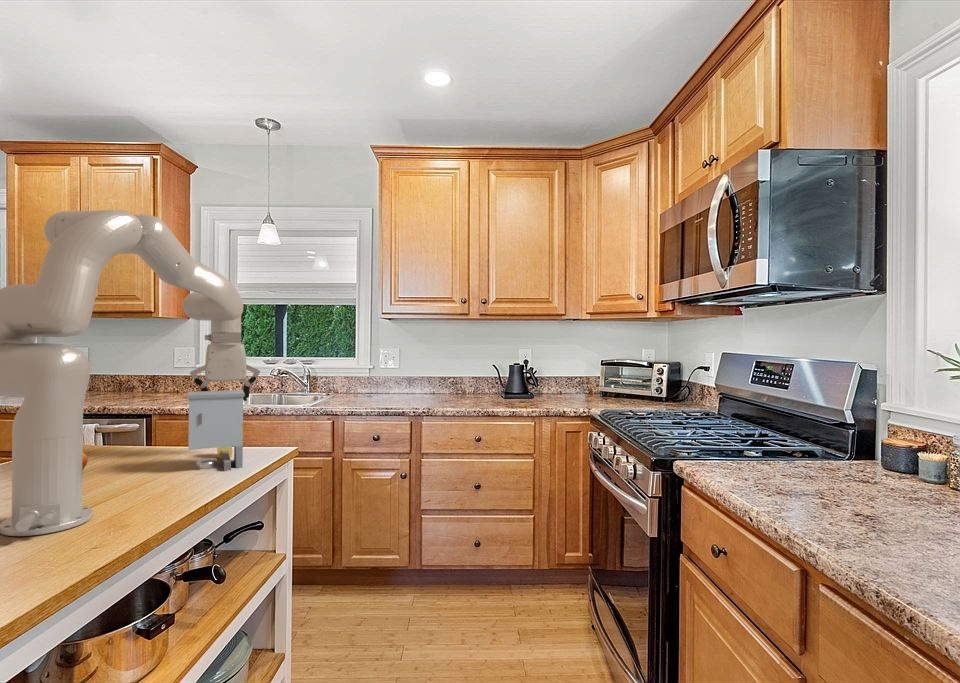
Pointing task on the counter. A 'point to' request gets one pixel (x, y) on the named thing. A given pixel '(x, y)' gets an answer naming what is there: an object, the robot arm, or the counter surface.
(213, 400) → the cabinet
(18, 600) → the counter surface
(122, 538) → the counter surface
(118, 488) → the counter surface
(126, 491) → the counter surface
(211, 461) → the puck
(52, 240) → the robot arm
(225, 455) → the blade tool
